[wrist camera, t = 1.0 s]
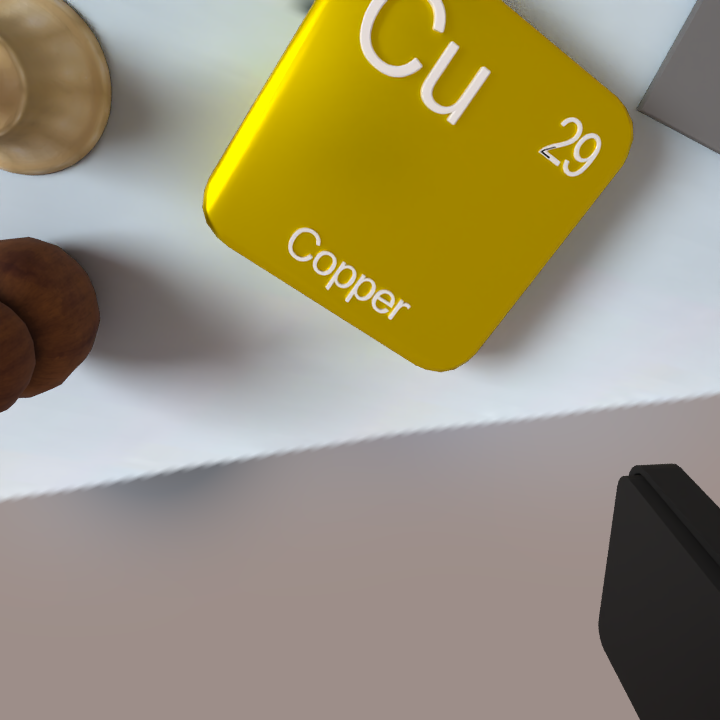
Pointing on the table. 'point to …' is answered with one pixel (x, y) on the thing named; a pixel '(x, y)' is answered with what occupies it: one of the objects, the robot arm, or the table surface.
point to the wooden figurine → (42, 318)
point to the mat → (690, 79)
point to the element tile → (416, 167)
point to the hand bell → (49, 87)
